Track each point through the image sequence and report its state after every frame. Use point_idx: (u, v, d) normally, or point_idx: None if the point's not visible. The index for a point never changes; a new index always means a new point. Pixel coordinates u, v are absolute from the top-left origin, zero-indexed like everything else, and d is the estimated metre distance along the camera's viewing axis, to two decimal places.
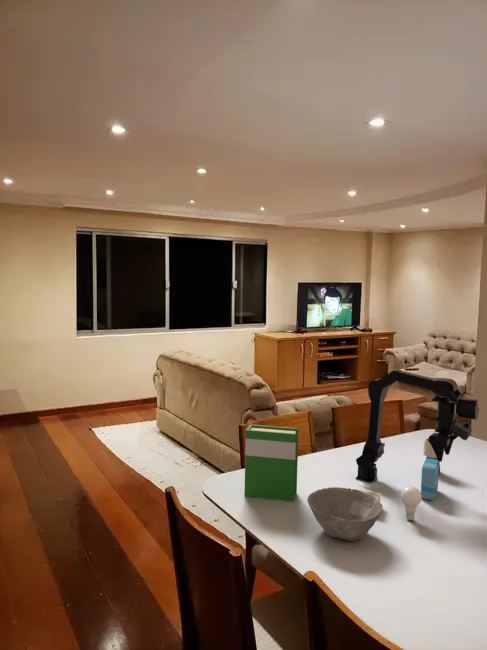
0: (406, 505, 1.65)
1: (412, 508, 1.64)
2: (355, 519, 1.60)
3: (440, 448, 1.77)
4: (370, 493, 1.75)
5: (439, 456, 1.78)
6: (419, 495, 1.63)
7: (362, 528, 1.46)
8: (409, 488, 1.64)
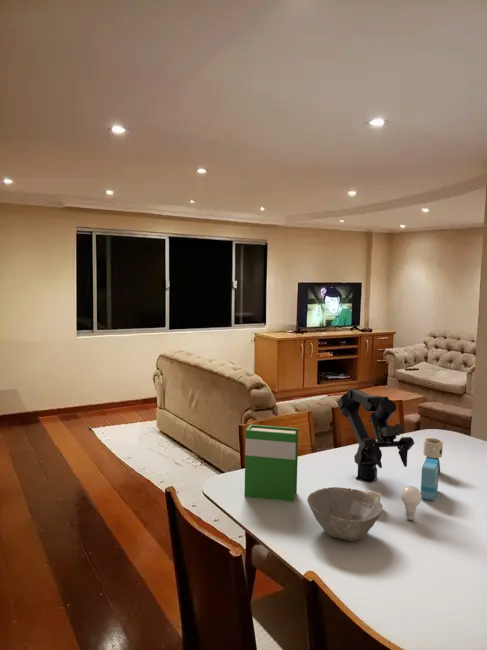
0: (406, 505, 1.65)
1: (412, 508, 1.64)
2: (355, 519, 1.60)
3: (374, 454, 1.80)
4: (370, 493, 1.75)
5: (377, 462, 1.78)
6: (419, 495, 1.63)
7: (362, 528, 1.46)
8: (409, 488, 1.64)
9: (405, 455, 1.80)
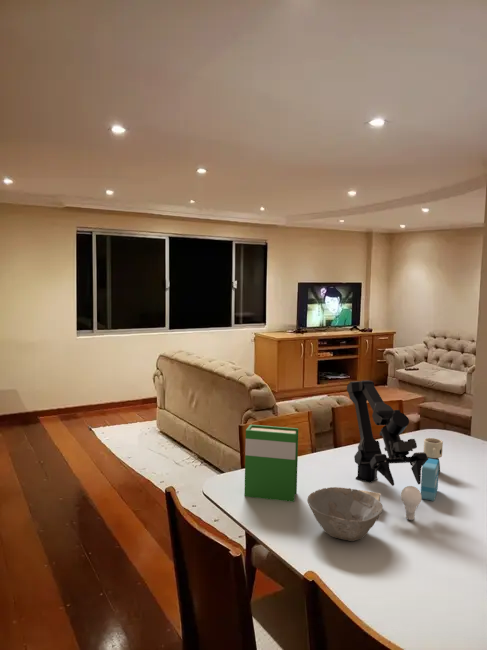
0: (406, 505, 1.65)
1: (412, 508, 1.64)
2: (355, 519, 1.60)
3: (385, 470, 1.71)
4: (370, 493, 1.75)
5: (389, 479, 1.69)
6: (419, 495, 1.63)
7: (362, 528, 1.46)
8: (409, 488, 1.64)
9: (418, 472, 1.71)
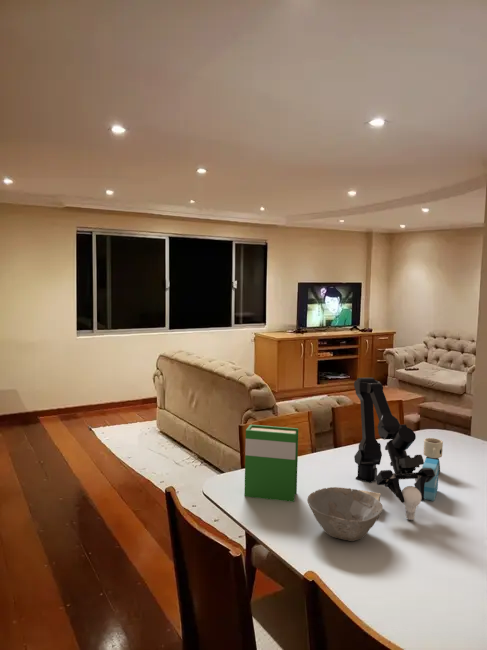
0: (406, 505, 1.65)
1: (412, 508, 1.64)
2: (355, 519, 1.60)
3: (395, 487, 1.66)
4: (370, 493, 1.75)
5: (399, 496, 1.65)
6: (419, 495, 1.63)
7: (362, 528, 1.46)
8: (409, 488, 1.64)
9: (422, 489, 1.66)
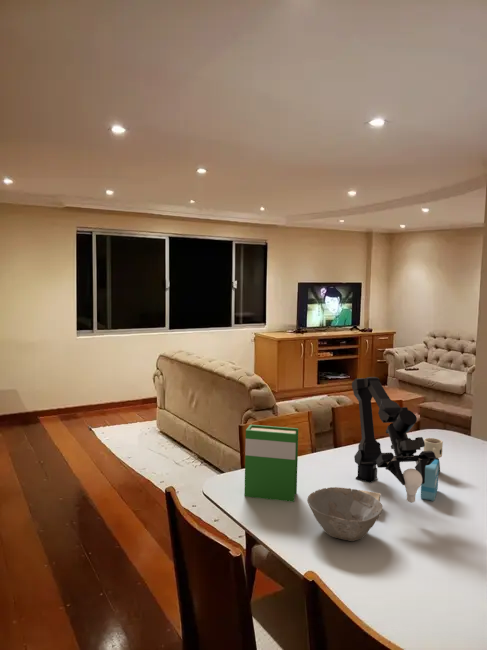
0: (407, 487, 1.64)
1: (412, 491, 1.64)
2: (355, 519, 1.60)
3: (396, 469, 1.66)
4: (370, 493, 1.75)
5: (399, 478, 1.64)
6: (420, 477, 1.63)
7: (362, 528, 1.46)
8: (410, 471, 1.64)
9: (423, 471, 1.66)
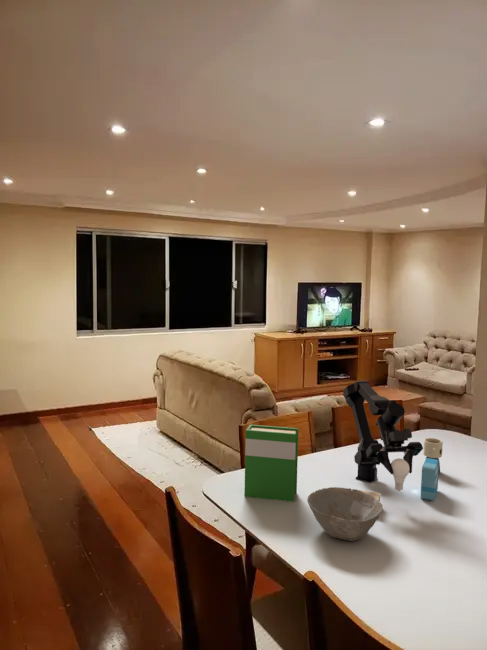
0: (395, 476, 1.72)
1: (400, 479, 1.72)
2: (355, 519, 1.60)
3: (385, 459, 1.74)
4: (370, 493, 1.75)
5: (388, 468, 1.73)
6: (407, 467, 1.71)
7: (362, 528, 1.46)
8: (397, 460, 1.72)
9: (410, 461, 1.74)
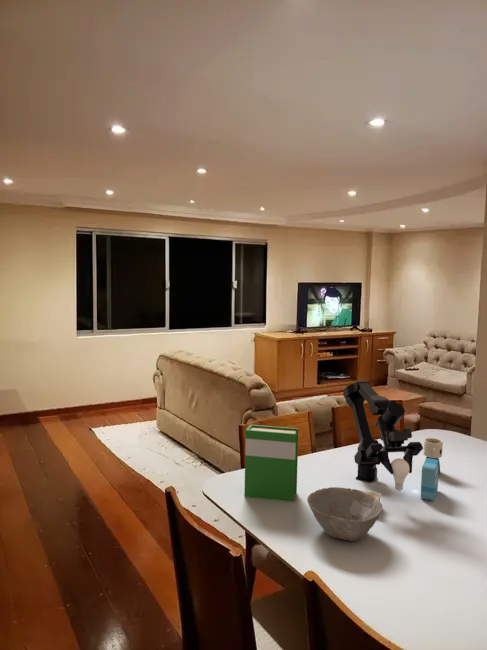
0: (395, 476, 1.72)
1: (400, 479, 1.72)
2: (355, 519, 1.60)
3: (385, 459, 1.74)
4: (370, 493, 1.75)
5: (388, 468, 1.73)
6: (407, 466, 1.71)
7: (362, 528, 1.46)
8: (397, 460, 1.72)
9: (410, 461, 1.74)
